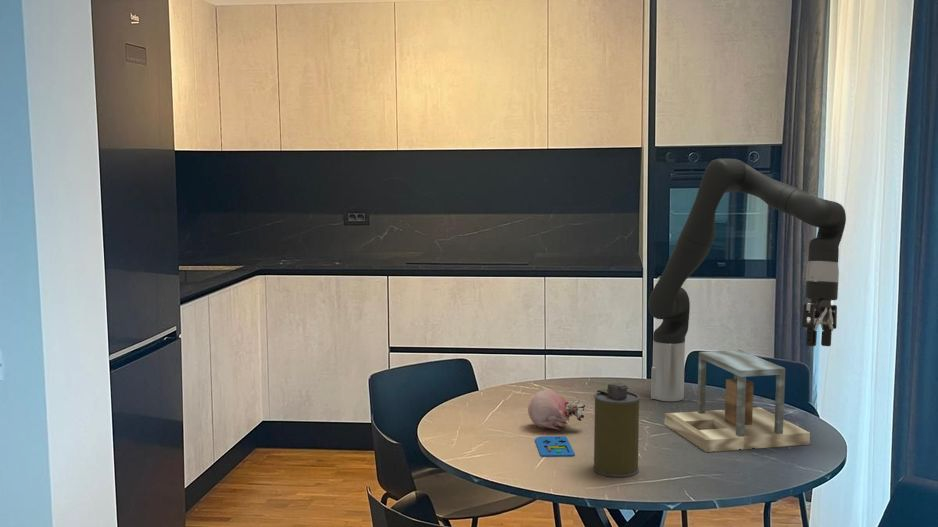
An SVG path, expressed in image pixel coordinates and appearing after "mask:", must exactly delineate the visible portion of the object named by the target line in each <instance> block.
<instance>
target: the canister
mask: <svg viewBox="0 0 938 527" xmlns="http://www.w3.org/2000/svg"><path fill="white" fill-rule="evenodd" d="M628 389H629V386H628V385H625V384H623V383H621V382H614V383H609V384H607V389H605V388H604V389H603V388H602V389H598V390H597V391H596V393H594V394H593V398H594V430H593V431H594V432H593V433H594V434H593V436H594V439H593V445H594V446H593V451H594V452H593V466H592V470H593V471H594V473H597V474H599V475H600V476H605V477H609V478H627V477H632V476H635V475H637V474H638V473H639V471H640V467H639V436H640V435H639V432H640V431H639V429H640V428H639V426H640V425H639V423H640V400H641V395H639V394H638V393H635V392H632V391H630V390H629V391H628Z"/></svg>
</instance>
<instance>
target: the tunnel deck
mask: <svg viewBox="0 0 938 527" xmlns="http://www.w3.org/2000/svg"><path fill="white" fill-rule="evenodd" d="M707 362H708V363H710V364H712V365H714V366H716V367H718V368H721V369H723V370H725V371H727V372H729V373H731V374H733V379H737V407H736V426H734V425H732V424H730V423H728V422H727V421H725V409H714V410H706V392H707V390H706V387H707ZM697 367H698V369H697V370H698V371H697V373H698V374H697V405H696V406H697V409H696V411H682V412H666V413H664V426H666V427H667V428H669V429H670V430H673V431H674V432H676V433H677V434H678V435H679V436H681V437H683V438H684V439H686V440H688V442H690V443H692V444H693V445H694V444H695V446H696V447H697V446H698V447H697V448H699V449H700V450H702V451H704V452H705V453H711V452H712V453H713V451H714V452H726V451H739V449H741V450H750V449H751V450H753V449H752V448H755V449H765V448H767V449H768V448H777V447H778V448H781V447H793V446H794V447H795V446H805V445H807V446H808V445H811V444H810V443H811V442H810V440H811V432H810V431H808V430H806V429H804V428H801V427H800V426H797V425H796V424H794V423H791V422H790V421H789V420H785V419H784V413H785V389H786V388H785V387H786V368H785V367H784V366H781V365H778V364H775V363H774V362H771V361H769V360H766V359H763V358H761V357H758V356H756V355H753V354H751V353H749V352H746V351H744V350H741V349H733V350H732V349H731V350H729V349H728V350H713V351H711V350H710V351H699V352H698V366H697ZM763 376H765V377H766V376H775V399H774V401H775V402H774V405H775V406H774V408H775V409H774V413H772V412H770V411H769V410H766V409H764V408H762V407H760V406H758V407H753V413H752V425H745V397H746V379H747V377H763Z"/></svg>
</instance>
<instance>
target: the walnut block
mask: <svg viewBox="0 0 938 527" xmlns="http://www.w3.org/2000/svg"><path fill="white" fill-rule="evenodd" d="M724 402H725V405H724V410H725V421H727V422H728V423H730V424H732V425H734V426H736V407H737V379H734V378H726V379H725V401H724ZM753 405H754V382H753V381H751V380H749V379H747V378H746V397H745V425H752V413H753V408H754V406H753Z"/></svg>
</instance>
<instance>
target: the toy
mask: <svg viewBox="0 0 938 527" xmlns="http://www.w3.org/2000/svg"><path fill="white" fill-rule="evenodd" d="M568 404H569V405H568ZM577 404H578V405H577ZM585 407H586V405H585V404H583V403H582V402H580V400H575V401H574V402H572V401H569V400H567V399H565V398H564V397H563V396H562V395H560V394H559V393H557V392H556V391H554V390H550V389H545V390H544V389H543V390H539V391H537V392H536V393H535V394H534V395H533V397H532V399H531V400H530V402H529V404H528V406H527V413H528V416H529V419H530V420H531V422H532V423H533V424H534V425H536V427H539V428H542V429H548V428H549V429H551V430H553V431H555V430H557V431H559V432H561V429H559V428H558V427H564V426H565V425H566V426H569V423H568V422H570V419H569V418H570V417H573V416H575V417H576V419H577V421H579V422H581V421H582V419H583V418H585V415H584V414H583V411H585ZM567 421H568V422H567Z"/></svg>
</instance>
